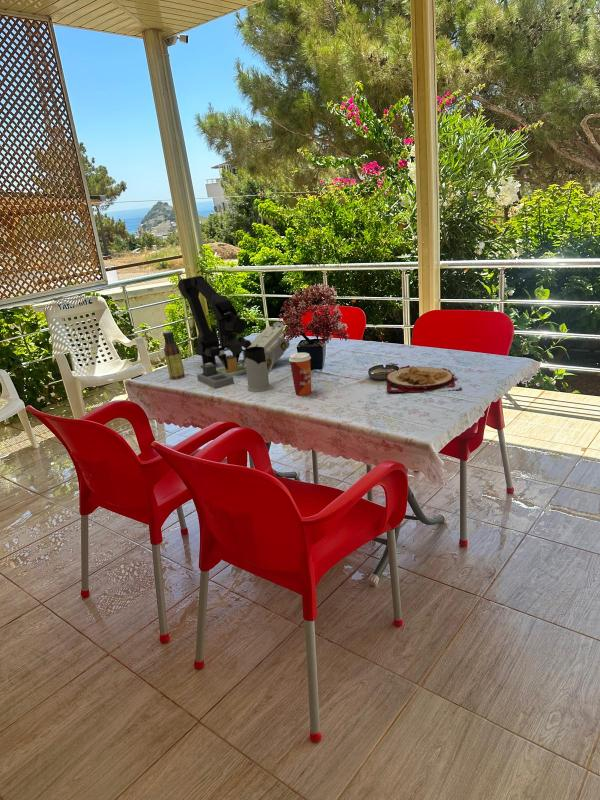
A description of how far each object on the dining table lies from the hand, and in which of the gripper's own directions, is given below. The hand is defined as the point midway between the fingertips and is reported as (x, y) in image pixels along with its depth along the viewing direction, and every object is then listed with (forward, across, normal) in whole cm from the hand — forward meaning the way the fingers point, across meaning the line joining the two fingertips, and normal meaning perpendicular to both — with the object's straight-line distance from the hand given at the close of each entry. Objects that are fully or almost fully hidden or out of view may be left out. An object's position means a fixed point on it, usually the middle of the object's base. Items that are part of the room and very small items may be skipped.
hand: (231, 368), depth 229 cm
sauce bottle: (+2, -19, +13) cm, 23 cm away
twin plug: (+2, -11, -3) cm, 11 cm away
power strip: (+2, -11, -7) cm, 13 cm away
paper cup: (+3, +5, -45) cm, 45 cm away
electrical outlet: (-1, +16, -5) cm, 17 cm away
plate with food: (+4, +41, -67) cm, 79 cm away
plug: (+2, 0, 0) cm, 2 cm away
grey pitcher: (+3, 0, -26) cm, 26 cm away
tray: (+2, 0, 0) cm, 2 cm away
